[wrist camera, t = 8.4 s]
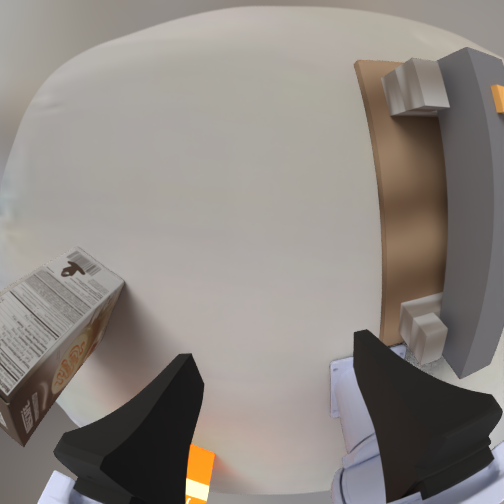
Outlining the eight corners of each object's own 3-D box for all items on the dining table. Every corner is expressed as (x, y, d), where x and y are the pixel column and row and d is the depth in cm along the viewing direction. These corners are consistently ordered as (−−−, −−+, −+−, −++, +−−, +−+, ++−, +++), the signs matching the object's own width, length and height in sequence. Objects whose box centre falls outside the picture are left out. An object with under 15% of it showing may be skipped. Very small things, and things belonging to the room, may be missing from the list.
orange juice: (192, 465, 33) (170, 562, 14) (144, 443, 32) (108, 541, 13) (215, 453, 31) (195, 568, 12) (161, 428, 29) (121, 547, 10)
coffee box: (103, 342, 25) (25, 451, 9) (60, 308, 24) (-30, 396, 9) (127, 280, 22) (7, 408, 7) (75, 241, 21) (-58, 327, 6)
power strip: (463, 332, 18) (493, 368, 13) (433, 343, 19) (462, 384, 13) (460, 72, 11) (507, 58, 6) (425, 66, 12) (472, 44, 7)
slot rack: (471, 312, 21) (501, 341, 16) (379, 341, 23) (401, 383, 17) (465, 76, 14) (506, 65, 8) (353, 64, 15) (383, 33, 10)
